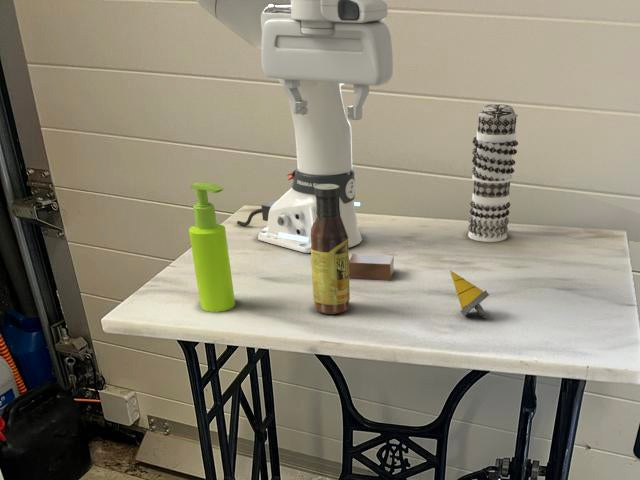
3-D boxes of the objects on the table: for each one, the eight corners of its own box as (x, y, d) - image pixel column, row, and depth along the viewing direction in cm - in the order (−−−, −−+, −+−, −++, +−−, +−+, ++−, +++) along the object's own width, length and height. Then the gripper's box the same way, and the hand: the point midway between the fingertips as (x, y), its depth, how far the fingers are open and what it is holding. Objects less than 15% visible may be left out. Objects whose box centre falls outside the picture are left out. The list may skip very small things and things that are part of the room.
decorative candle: (482, 245, 154) (493, 111, 139) (458, 233, 160) (465, 104, 145) (517, 238, 157) (531, 107, 142) (491, 227, 164) (503, 101, 149)
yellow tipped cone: (474, 328, 121) (437, 279, 120) (473, 329, 126) (438, 282, 125) (500, 307, 120) (463, 258, 118) (498, 309, 125) (462, 262, 124)
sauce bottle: (345, 317, 123) (340, 193, 111) (309, 314, 124) (301, 190, 112) (354, 303, 128) (351, 182, 116) (319, 300, 129) (313, 180, 117)
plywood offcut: (348, 278, 138) (348, 262, 136) (352, 269, 142) (352, 253, 140) (390, 280, 137) (390, 264, 135) (393, 271, 141) (393, 255, 139)
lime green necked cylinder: (223, 315, 124) (206, 190, 112) (193, 307, 127) (173, 184, 115) (246, 304, 128) (231, 182, 116) (216, 296, 131) (199, 177, 119)
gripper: (247, 3, 102) (257, 114, 110) (376, 6, 94) (377, 125, 103) (272, 1, 106) (280, 108, 115) (398, 4, 99) (397, 118, 107)
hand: (327, 116), depth 109 cm, fingers open, 8 cm apart
